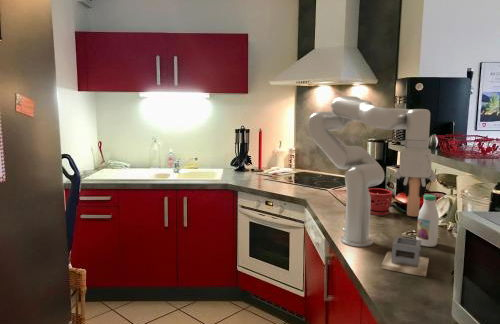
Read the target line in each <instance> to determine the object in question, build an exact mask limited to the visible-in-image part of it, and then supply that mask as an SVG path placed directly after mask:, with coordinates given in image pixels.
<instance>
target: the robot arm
mask: <svg viewBox="0 0 500 324" xmlns="http://www.w3.org/2000/svg"><path fill="white" fill-rule="evenodd" d="M330 106H331V107H330V108H331V110H330V111H327V110H324V111H317V112H314V113H312V114H310V116H309V118H308V120H307V131H308V134H309V135H308V136H310V139H311V140H312V141H313V143H314V144H316V146H317V147H319V148H320V150H321V151H322V152H323V153H324V154H325V155H326V156H327V158H328V159H329V160H330V161H331V162H332V163H333V165H334V166H335V167H336V168H337V169H338V170H339V169H340V170H346V172H345V174H344V183H345V189H346V191H345V192H346V194H345V195H346V197H345V199H346V200H345V222H344V223H345V224H344V226H345V227H343V228H342V229H341V230H342V231H343V232H344V233H343V235H341V237H340V242H341V243H343V244H344V245H348V246H350V247H360V248H361V247H369V246H372V245H373V244H374V243H373V238H371V237H370V227H371V226H370V222H371V214H370V208H371V197H370V193H369V190H368V189H369V188H373V187H376V186H379V185H380V184H382V183H383V182H384V181H385V171H384V168H383V167H382V166H381V165H380V163H379V162H378V161H377V160H376V159H374V157H373V156H372V155H371V154H370V153H369V152H368V151H367V150H366V149H365V148H363V147H361V146H360V145H346V144H345V143H344V142H343V141H342V140H341V139H340V138H339V137H338V136H337V135H336V134H334V133H332V132H333V131H334V132H335V131H339V130H342V129H344V128H345V127H346V126H348V125H350V124H351V123H352V122H353V121H355V122H360V123H362V124H363V125H366V126H369V127H373V128H377V129H381V130H385V131H386V130H387V131H390V130H391V131H392V130H405V139H404V140H401V141H400V145H401V146H404V147H402V150H401V153H400V161H399V168H398V169H397V170H396V171H395V173H394V174H393V176H394V177H395V178H396V179H397V180H399V181H400V182H401V183H402V185H403V194H405V197H406V198H408V186H409V185H408V184H409V177H411V178H421V186H420V199H421V198H423V196H424V195H425V192H426V191H425V188H426V186H427V185H428V184H429V183H431V182H433V181H435V180H437V176H436V174H435V172H434V170H433V169H432V151H431V148H429V143H430V126H431V112H430V110H429V109H425V108H413V109H410V108H399V107H397V108H394V107H393V108H392V107H391V108H389V107H381V106H376V105H374V104H373V103H372V102H371V101H369V100H366V99H361V98H360V97H358V96H354V95H353V96H351V95H350V96H347V95H346V96H345V95H343V96H342V95H341V96H337V97H335V98H334V99H333V101H331V104H330Z"/></svg>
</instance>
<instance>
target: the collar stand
mask: <svg viewBox="0 0 500 324" xmlns="http://www.w3.org/2000/svg"><path fill="white" fill-rule="evenodd" d="M421 248H422V245H421V240H417V239H415V238H411V237H410V238H409V237H401V236H395V237H394V239H393V242H392V247H391V251H390V250H389V251H387V252H386V253H385V256H384V258H383V260H382V262H381V264H380V265H381V267H380V268H381V269H383V270H387V271H393V272H399V273H403V274H404V273H405V274H410V275H414V276H415V275H416V276H420V277H427V273H428V267H429V264H430V263H429V262H430V258H429V257H426V256H425V257H424V256H421Z"/></svg>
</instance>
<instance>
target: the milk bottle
mask: <svg viewBox="0 0 500 324" xmlns="http://www.w3.org/2000/svg"><path fill="white" fill-rule="evenodd" d="M422 198H423V204H422V206H421V207H420V208H419V216H417V226H416V236H415V238H416V239H417V240H421V246H423V247H436V246H437V244H438V235H439V223H440V222H439V221H440V219H439V218H440V217H439V211H438V209H437V206H436V201H437V196H436V195H434V194H430V193H429V194H427V193H426V194H424V195H423V196H422Z"/></svg>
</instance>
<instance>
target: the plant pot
mask: <svg viewBox="0 0 500 324" xmlns="http://www.w3.org/2000/svg"><path fill="white" fill-rule="evenodd" d="M368 190H369V193H370V197H371V208H370V215H374V216H386V215H388V214H390V207H391V205H392V201H393V191H392V190H390V189H386V188H385V189H384V188H379V187H378V188H377V187H374V188H373V187H370V188H368Z"/></svg>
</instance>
